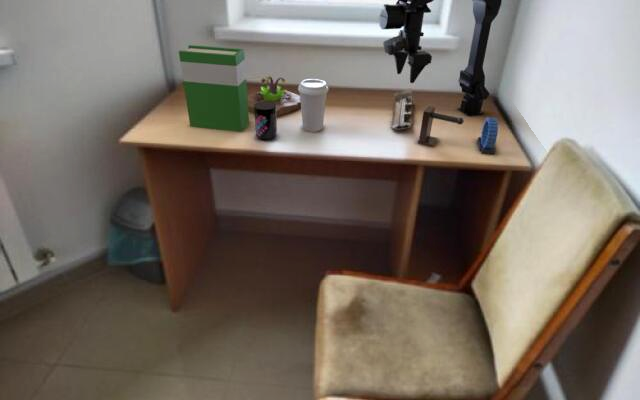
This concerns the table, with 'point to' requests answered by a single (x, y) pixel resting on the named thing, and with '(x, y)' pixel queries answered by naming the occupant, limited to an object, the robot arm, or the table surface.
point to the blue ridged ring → (489, 133)
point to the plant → (275, 97)
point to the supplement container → (265, 120)
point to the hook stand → (427, 124)
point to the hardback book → (215, 87)
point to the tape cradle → (485, 151)
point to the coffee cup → (313, 103)
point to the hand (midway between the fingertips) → (405, 78)
